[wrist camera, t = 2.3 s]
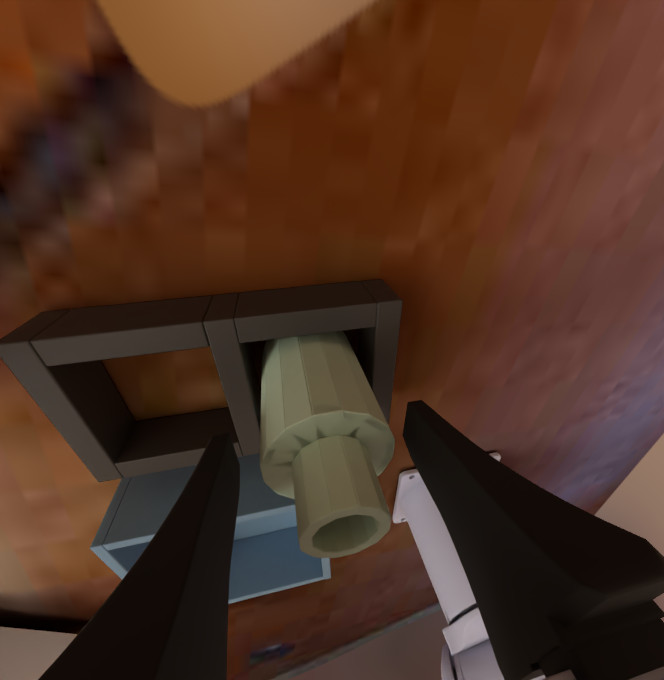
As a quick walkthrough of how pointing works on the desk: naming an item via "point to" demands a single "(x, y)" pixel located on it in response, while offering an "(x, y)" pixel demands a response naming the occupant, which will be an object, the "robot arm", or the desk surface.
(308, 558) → the basket
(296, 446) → the bottle
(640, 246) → the desk surface
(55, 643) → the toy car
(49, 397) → the bottle rack
